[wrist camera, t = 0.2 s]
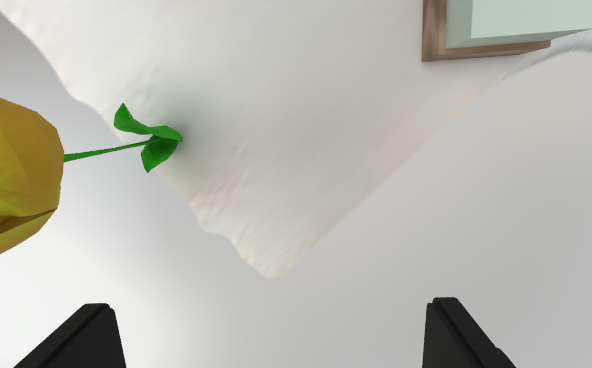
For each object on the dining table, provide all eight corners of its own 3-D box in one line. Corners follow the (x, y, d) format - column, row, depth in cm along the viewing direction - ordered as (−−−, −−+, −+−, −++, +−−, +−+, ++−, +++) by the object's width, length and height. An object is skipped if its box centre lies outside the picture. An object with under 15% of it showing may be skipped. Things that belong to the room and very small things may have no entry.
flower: (202, 172, 40) (-76, 351, 11) (140, 162, 40) (-311, 317, 11) (207, 103, 38) (-123, 93, 9) (142, 93, 38) (-418, 49, 8)
